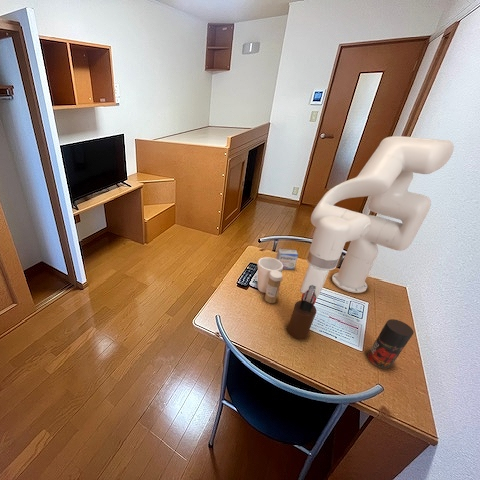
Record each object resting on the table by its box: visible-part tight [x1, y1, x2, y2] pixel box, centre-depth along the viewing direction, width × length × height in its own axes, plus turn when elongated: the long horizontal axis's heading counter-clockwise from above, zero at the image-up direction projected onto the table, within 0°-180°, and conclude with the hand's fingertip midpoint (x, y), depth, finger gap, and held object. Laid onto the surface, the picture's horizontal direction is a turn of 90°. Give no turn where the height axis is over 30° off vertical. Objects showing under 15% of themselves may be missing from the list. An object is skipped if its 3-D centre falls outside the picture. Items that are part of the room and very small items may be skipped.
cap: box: [300, 291, 318, 306], centre depth 83 cm, size 4×4×3 cm
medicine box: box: [275, 248, 299, 270], centre depth 121 cm, size 8×4×9 cm, turn 81°
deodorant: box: [367, 318, 414, 370], centre depth 77 cm, size 6×6×15 cm
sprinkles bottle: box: [263, 271, 283, 304], centre depth 102 cm, size 5×5×14 cm
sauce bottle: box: [286, 300, 318, 341], centre depth 87 cm, size 6×6×18 cm
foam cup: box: [256, 256, 284, 294], centre depth 108 cm, size 10×9×13 cm
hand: (306, 304), depth 83 cm, fingers open, 4 cm apart
